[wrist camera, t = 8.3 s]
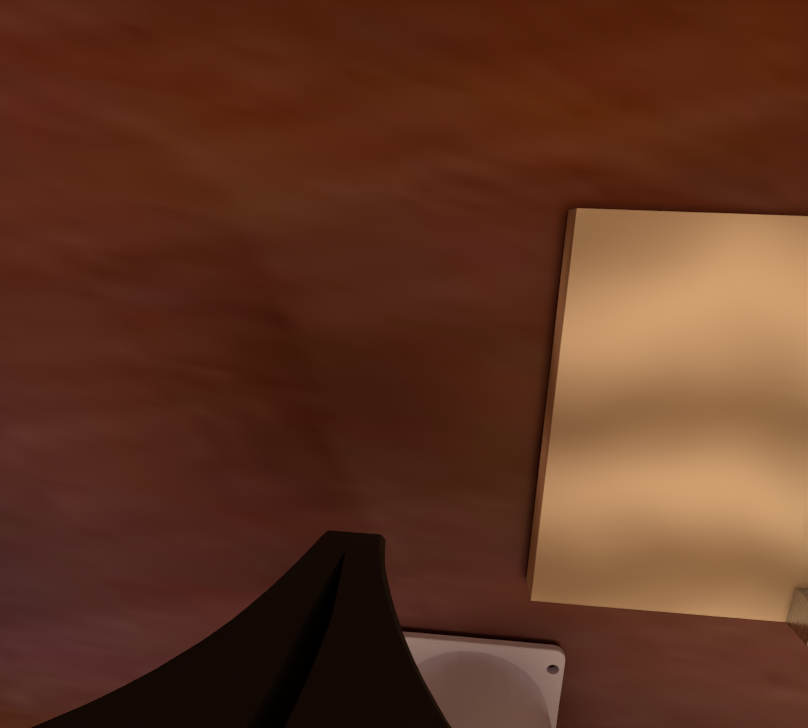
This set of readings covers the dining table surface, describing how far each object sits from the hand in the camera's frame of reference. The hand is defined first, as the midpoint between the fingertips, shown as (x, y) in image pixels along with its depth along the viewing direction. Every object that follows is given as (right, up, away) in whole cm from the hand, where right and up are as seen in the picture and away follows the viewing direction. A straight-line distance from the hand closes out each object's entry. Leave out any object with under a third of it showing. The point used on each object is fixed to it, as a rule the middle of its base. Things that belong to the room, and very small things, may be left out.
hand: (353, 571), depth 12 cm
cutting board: (+16, +2, +8) cm, 18 cm away
